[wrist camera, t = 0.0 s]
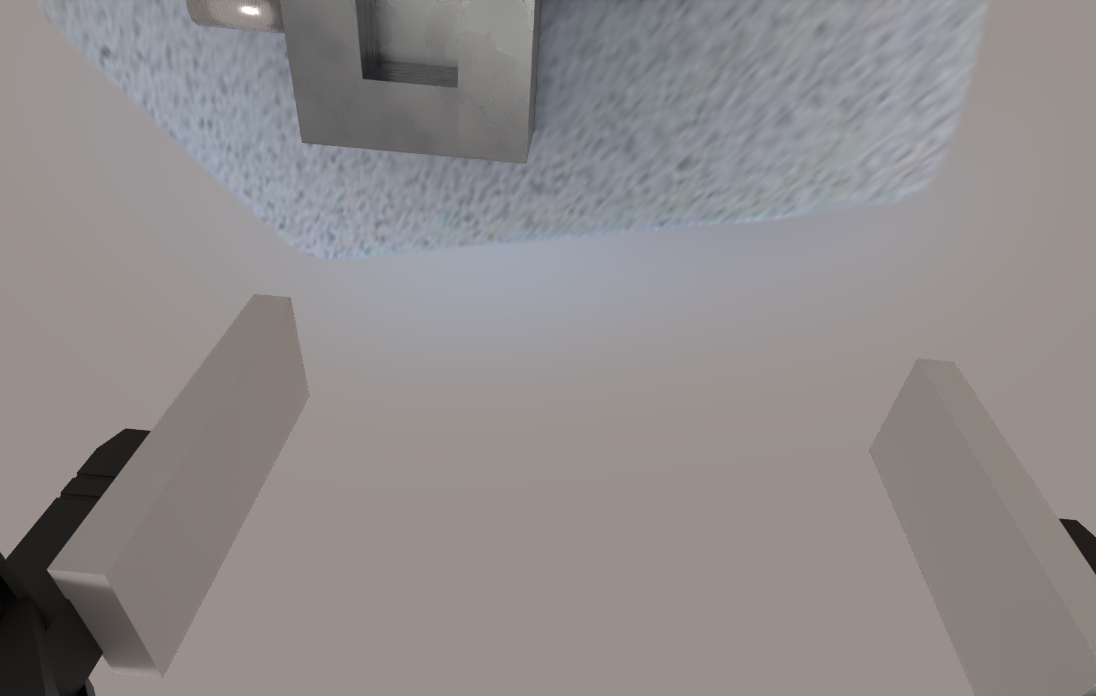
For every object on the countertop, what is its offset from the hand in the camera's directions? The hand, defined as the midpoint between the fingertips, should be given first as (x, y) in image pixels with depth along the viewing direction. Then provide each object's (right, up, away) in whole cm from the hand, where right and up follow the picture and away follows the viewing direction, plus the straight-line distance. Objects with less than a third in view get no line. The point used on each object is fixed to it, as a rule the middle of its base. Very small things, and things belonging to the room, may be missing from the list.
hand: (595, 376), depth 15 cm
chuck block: (-10, +19, +22) cm, 30 cm away
